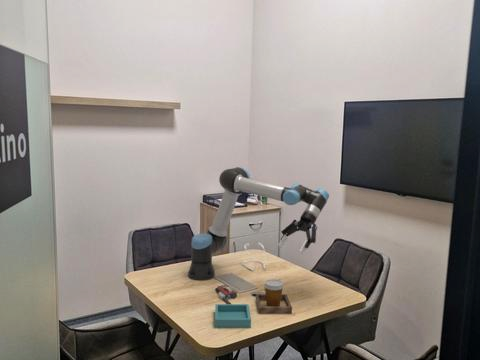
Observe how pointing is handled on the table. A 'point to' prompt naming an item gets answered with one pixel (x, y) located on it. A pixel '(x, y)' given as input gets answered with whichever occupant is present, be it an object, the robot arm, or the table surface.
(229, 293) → the walkie-talkie
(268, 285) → the disposable coffee cup
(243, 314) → the teal tray
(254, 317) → the table surface
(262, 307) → the walnut cup stand
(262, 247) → the earphone
